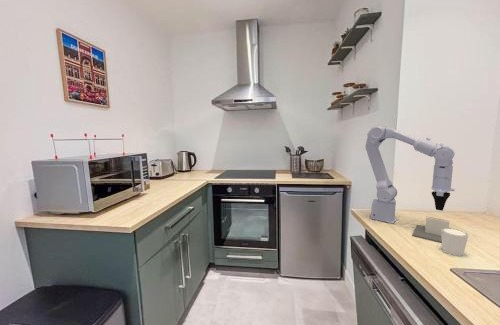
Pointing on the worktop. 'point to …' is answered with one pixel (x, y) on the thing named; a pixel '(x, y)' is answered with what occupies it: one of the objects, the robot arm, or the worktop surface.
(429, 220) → the tile
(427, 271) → the worktop surface
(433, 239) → the plate
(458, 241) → the white short cylinder
